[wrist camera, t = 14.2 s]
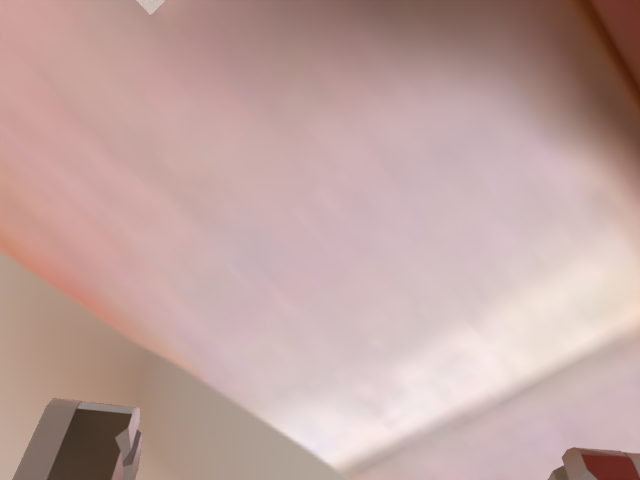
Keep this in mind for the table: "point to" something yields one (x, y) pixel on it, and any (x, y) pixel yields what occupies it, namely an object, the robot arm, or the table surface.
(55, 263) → the table surface
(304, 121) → the table surface
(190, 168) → the table surface
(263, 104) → the table surface
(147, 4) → the lever board
